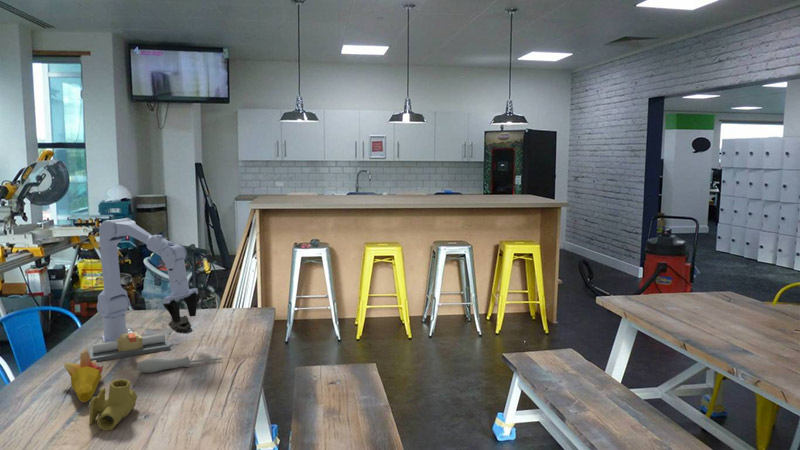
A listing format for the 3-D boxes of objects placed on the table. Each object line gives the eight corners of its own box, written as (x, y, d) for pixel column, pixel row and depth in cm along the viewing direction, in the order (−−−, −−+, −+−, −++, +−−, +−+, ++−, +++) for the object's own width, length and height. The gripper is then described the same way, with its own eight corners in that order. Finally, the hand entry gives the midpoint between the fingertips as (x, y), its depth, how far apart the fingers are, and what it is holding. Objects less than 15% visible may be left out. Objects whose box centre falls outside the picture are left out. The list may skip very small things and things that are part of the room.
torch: (82, 421, 144) (79, 377, 165) (111, 403, 147) (104, 361, 167) (63, 400, 140) (62, 357, 161) (93, 381, 143) (88, 342, 164)
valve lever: (124, 332, 186) (124, 328, 186) (132, 331, 187) (132, 327, 187) (128, 342, 176) (128, 338, 175) (137, 341, 177) (137, 336, 177)
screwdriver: (223, 368, 176) (223, 356, 175) (137, 377, 165) (137, 365, 164) (221, 360, 180) (221, 348, 179) (137, 368, 169) (137, 356, 168)
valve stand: (88, 352, 184) (87, 334, 183) (165, 340, 197) (164, 323, 196) (90, 362, 176) (89, 343, 175) (170, 349, 188) (169, 331, 188)
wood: (166, 320, 223) (166, 312, 223) (186, 317, 227) (186, 310, 226) (171, 336, 204) (171, 328, 203) (192, 333, 207) (192, 325, 207)
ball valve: (139, 409, 145) (99, 405, 144) (141, 373, 143) (102, 369, 142) (118, 436, 132) (75, 432, 131) (120, 397, 131) (77, 393, 130)
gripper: (172, 284, 178) (179, 324, 179) (202, 275, 192) (208, 313, 193) (155, 285, 181) (162, 325, 182) (186, 276, 194) (192, 314, 195)
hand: (185, 319), depth 188 cm, fingers open, 7 cm apart
